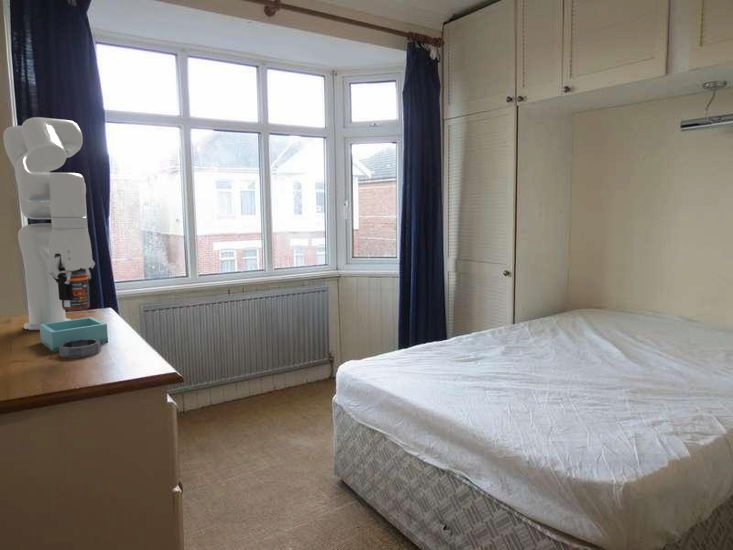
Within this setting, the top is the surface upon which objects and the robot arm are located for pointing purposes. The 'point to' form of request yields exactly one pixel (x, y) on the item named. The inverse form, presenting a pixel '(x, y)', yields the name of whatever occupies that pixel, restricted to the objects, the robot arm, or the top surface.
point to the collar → (79, 348)
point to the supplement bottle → (78, 292)
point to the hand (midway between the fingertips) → (75, 296)
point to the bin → (72, 332)
